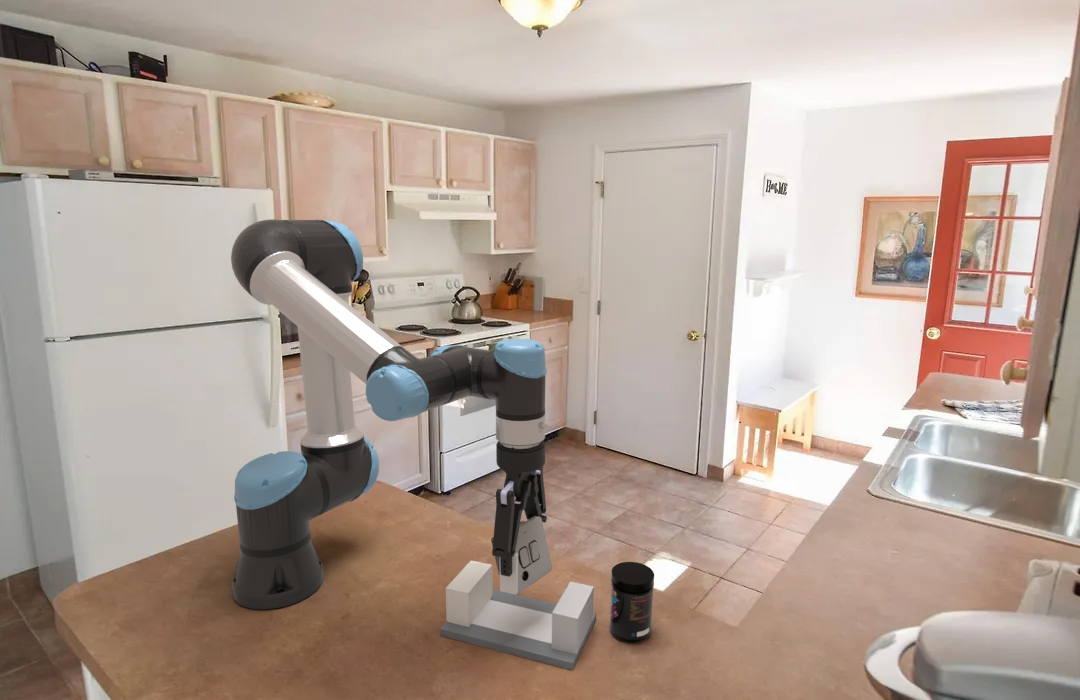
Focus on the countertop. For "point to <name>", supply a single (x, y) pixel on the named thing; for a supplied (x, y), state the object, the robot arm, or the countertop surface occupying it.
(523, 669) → the countertop surface
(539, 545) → the electrical switch
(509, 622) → the rail plate
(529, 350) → the robot arm
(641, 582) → the supplement container
